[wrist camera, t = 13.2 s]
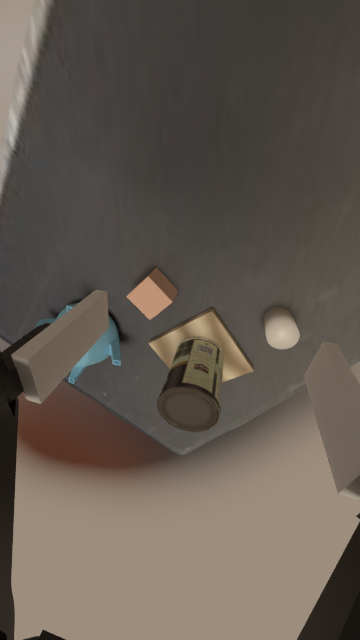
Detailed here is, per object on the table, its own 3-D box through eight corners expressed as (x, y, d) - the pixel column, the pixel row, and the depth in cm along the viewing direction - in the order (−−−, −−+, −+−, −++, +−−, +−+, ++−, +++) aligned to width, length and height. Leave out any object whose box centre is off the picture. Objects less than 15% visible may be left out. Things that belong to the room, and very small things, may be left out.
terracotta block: (156, 267, 44) (148, 276, 40) (178, 291, 45) (172, 302, 41) (136, 286, 47) (126, 296, 43) (157, 308, 48) (149, 320, 44)
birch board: (212, 307, 45) (212, 310, 44) (253, 366, 50) (253, 371, 49) (150, 339, 52) (148, 343, 51) (191, 389, 57) (190, 393, 56)
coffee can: (180, 375, 54) (163, 430, 42) (172, 337, 49) (150, 386, 37) (227, 376, 51) (223, 435, 39) (222, 335, 46) (216, 388, 34)
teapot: (96, 284, 48) (63, 307, 39) (138, 340, 53) (117, 373, 44) (50, 312, 55) (12, 338, 46) (91, 360, 60) (65, 392, 51)
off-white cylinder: (284, 302, 42) (291, 318, 37) (297, 323, 44) (304, 342, 38) (258, 314, 44) (261, 331, 39) (270, 334, 46) (274, 353, 41)
